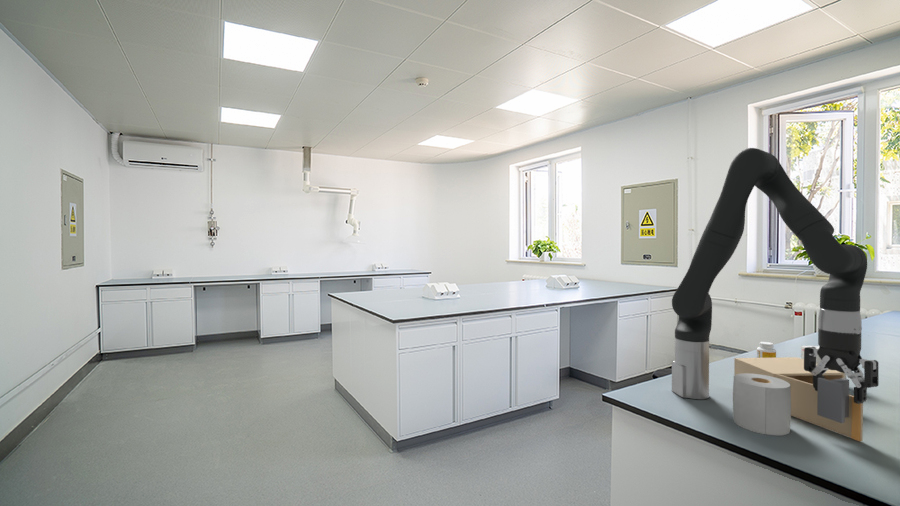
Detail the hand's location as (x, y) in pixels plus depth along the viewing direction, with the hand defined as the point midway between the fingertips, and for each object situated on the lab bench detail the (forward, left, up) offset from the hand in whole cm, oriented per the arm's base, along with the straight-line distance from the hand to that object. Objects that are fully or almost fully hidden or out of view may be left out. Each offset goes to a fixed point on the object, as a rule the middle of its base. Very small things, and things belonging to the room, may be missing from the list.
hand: (838, 396), depth 100 cm
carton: (+8, +26, -10) cm, 29 cm away
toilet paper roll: (-13, +8, -10) cm, 18 cm away
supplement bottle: (+22, +52, -10) cm, 57 cm away
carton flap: (-2, +7, -10) cm, 12 cm away
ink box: (+30, +38, -10) cm, 49 cm away
